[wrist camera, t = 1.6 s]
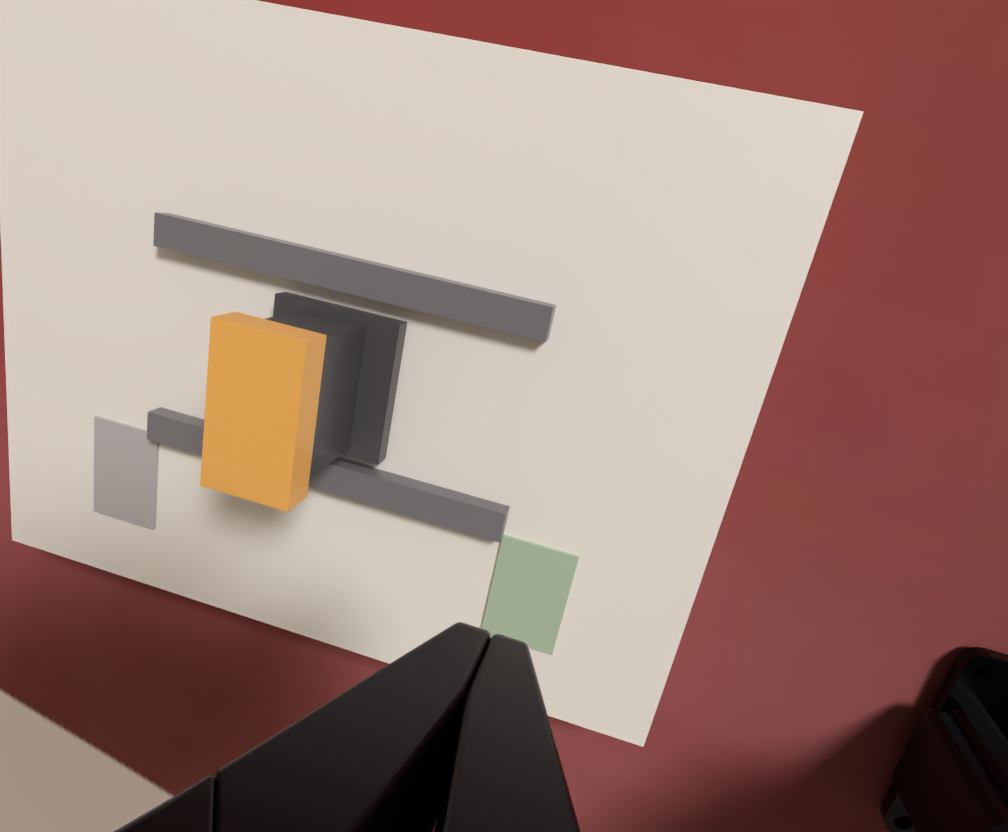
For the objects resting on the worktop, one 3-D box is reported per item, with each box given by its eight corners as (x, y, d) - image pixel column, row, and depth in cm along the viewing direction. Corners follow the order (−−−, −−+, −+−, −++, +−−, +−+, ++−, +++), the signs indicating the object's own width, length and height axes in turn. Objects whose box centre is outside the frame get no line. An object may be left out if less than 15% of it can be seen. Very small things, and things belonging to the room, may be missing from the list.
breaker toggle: (407, 321, 16) (336, 349, 12) (385, 458, 17) (314, 520, 13) (286, 291, 16) (182, 309, 13) (273, 426, 17) (174, 478, 14)
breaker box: (824, 133, 16) (871, 106, 12) (643, 675, 20) (643, 761, 17) (91, -6, 18) (-31, -57, 15) (89, 502, 23) (-3, 547, 20)
